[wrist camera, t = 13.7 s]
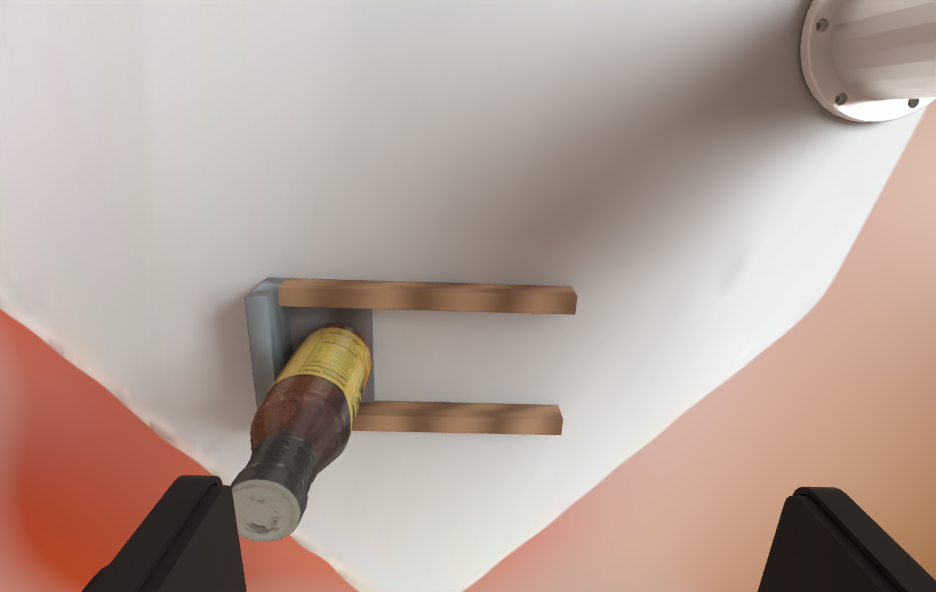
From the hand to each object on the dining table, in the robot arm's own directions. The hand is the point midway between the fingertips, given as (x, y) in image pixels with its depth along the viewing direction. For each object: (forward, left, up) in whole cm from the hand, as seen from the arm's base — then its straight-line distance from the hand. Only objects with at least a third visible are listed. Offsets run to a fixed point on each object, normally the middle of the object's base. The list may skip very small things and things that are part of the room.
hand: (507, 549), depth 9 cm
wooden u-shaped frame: (+3, +13, -34) cm, 37 cm away
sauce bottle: (+11, +13, -34) cm, 38 cm away
